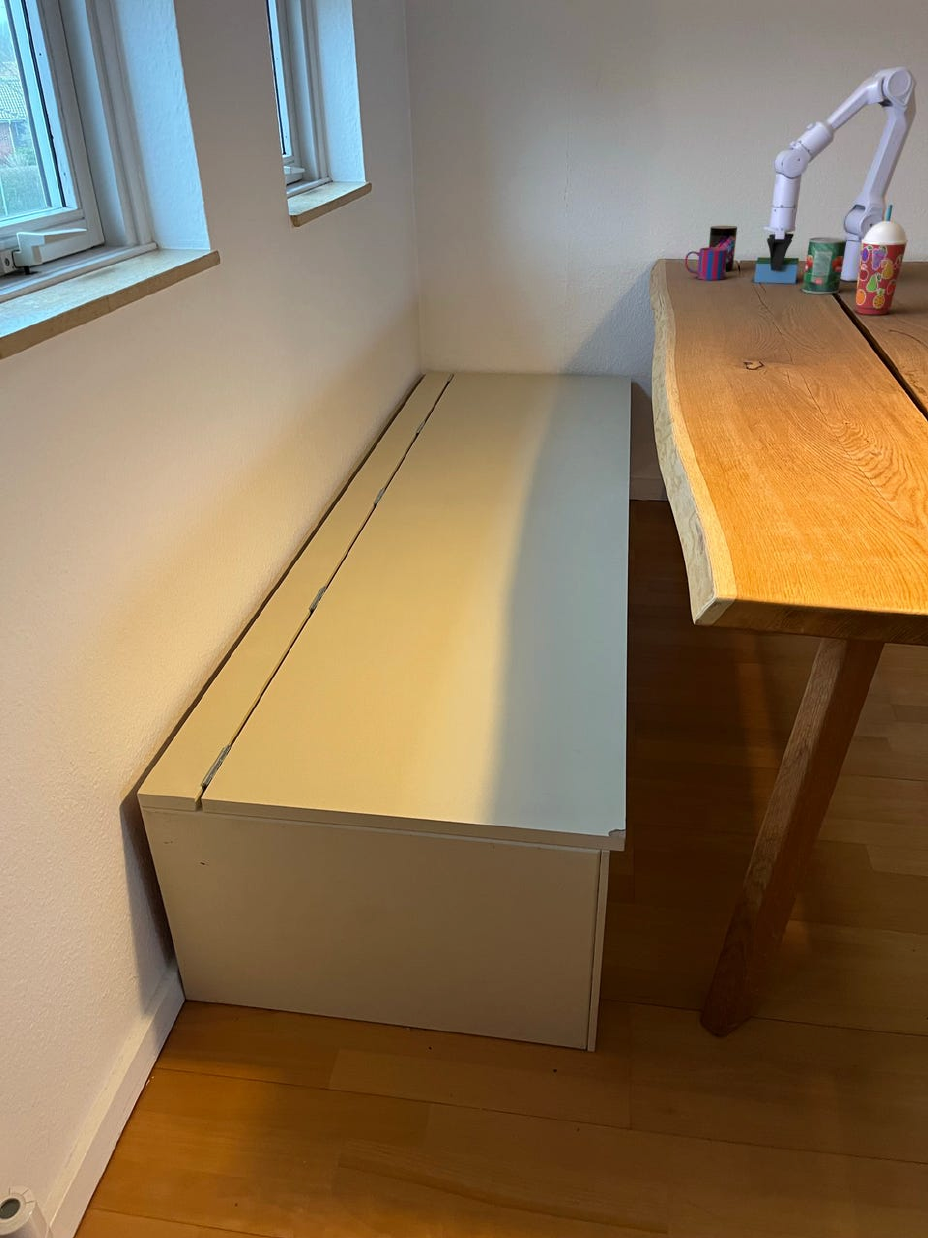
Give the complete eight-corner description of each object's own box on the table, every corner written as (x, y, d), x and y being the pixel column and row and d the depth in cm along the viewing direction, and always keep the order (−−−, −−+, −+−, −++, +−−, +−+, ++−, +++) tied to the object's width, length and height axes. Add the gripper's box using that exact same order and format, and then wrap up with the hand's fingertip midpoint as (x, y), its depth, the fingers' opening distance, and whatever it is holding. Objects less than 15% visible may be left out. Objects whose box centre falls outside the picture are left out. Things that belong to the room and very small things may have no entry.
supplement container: (701, 270, 242) (705, 227, 237) (713, 267, 247) (717, 224, 242) (725, 272, 238) (730, 228, 233) (737, 269, 243) (742, 226, 238)
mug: (725, 280, 228) (728, 250, 224) (683, 279, 230) (685, 250, 226) (724, 275, 233) (727, 247, 230) (683, 275, 235) (686, 246, 232)
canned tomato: (843, 293, 208) (852, 240, 203) (808, 294, 208) (815, 241, 203) (831, 287, 215) (839, 236, 210) (797, 288, 215) (804, 237, 210)
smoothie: (895, 309, 190) (915, 203, 181) (892, 317, 184) (913, 207, 174) (851, 307, 193) (869, 202, 184) (848, 314, 187) (866, 206, 177)
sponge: (796, 279, 226) (799, 257, 223) (795, 283, 221) (798, 261, 219) (755, 278, 229) (758, 257, 226) (754, 282, 224) (756, 260, 222)
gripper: (768, 203, 224) (761, 263, 231) (765, 209, 212) (757, 271, 219) (799, 203, 222) (790, 263, 228) (797, 209, 210) (788, 272, 217)
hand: (776, 267), depth 223 cm, fingers open, 7 cm apart
